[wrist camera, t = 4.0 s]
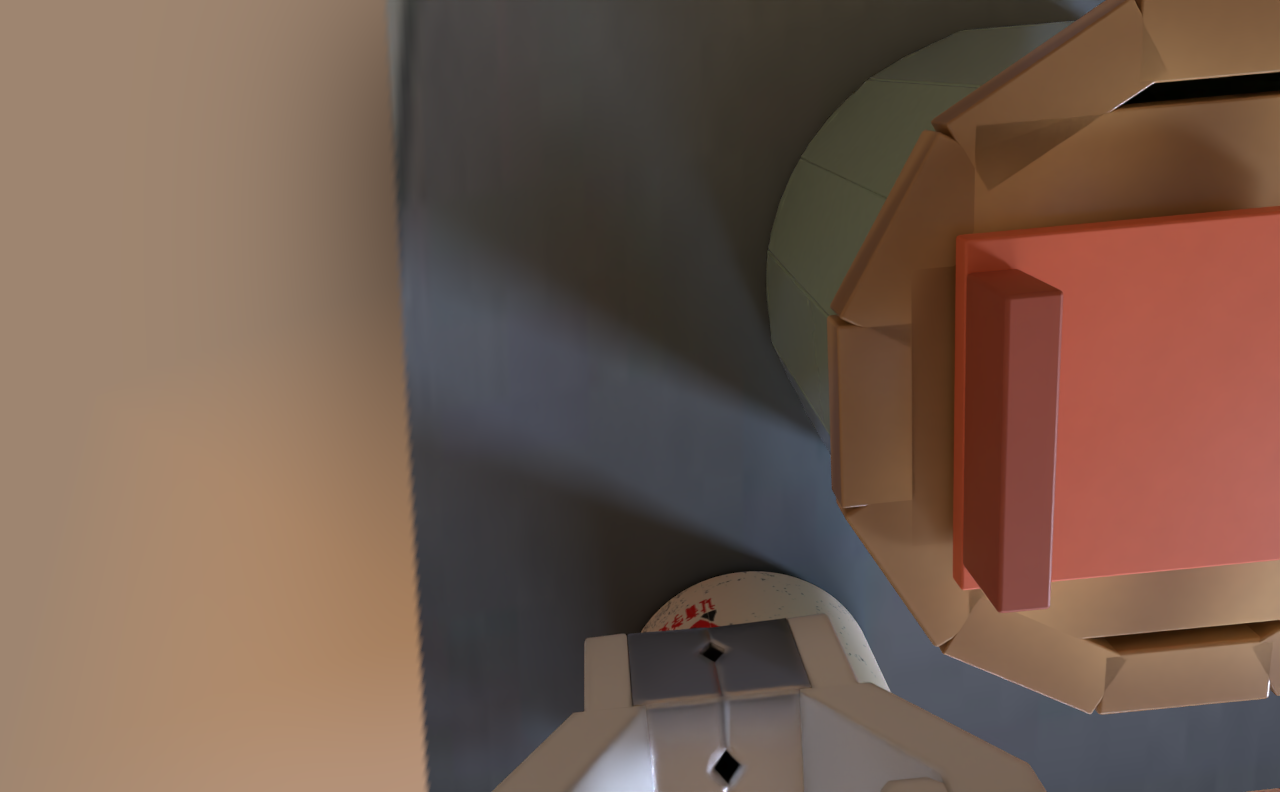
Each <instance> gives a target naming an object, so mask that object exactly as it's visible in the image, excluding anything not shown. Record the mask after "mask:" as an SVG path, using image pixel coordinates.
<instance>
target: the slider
mask: <svg viewBox="0 0 1280 792" xmlns="http://www.w3.org/2000/svg"><path fill="white" fill-rule="evenodd" d="M1274 560H1280V206H1272V207H1261V208H1250V209H1239V210H1228V211H1217V212H1206V213H1195V214H1184V215H1173V216H1162V217H1151V218H1140V219H1129V220H1118V221H1107V222H1096V223H1085V224H1074V225H1063V226H1052V227H1041V228H1030V229H1019V230H1008V231H997V232H986V233H975V234H964V235H959V236H957V237H956V286H955V386H954V486H953V578H954V580H955V581H956V583H957V584H958V586H959V587H960V589H961V590H972V589H981V590H982V591H983V592H984V594H985V595H986V597H987V598H988V599H989V601H990V602H991V603H992V605H993V606H994V607H995V609H996V610H997V612H999V613H1010V612H1020V611H1031V610H1041V609H1048V608H1049V607H1050V598H1051V582H1055V581H1066V580H1076V579H1086V578H1097V577H1107V576H1118V575H1128V574H1139V573H1149V572H1159V571H1170V570H1180V569H1191V568H1201V567H1212V566H1222V565H1233V564H1243V563H1253V562H1264V561H1274Z"/></svg>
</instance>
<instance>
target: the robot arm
mask: <svg viewBox="0 0 1280 792" xmlns="http://www.w3.org/2000/svg"><path fill="white" fill-rule="evenodd" d="M628 649H629V653H628ZM492 792H1047V791H1046V790H1045V788H1044V786H1043V785H1042V783H1041V782H1040V780H1039V779H1038V777H1037V775H1036V774H1035V772H1034V771H1033V769H1032V768H1031V766H1030V764H1028V763H1026V762H1024V761H1022V760H1021V759H1019V758H1017V757H1015V756H1013V755H1011V754H1009V753H1007V752H1005V751H1003V750H1001V749H999V748H997V747H995V746H993V745H991V744H990V743H988V742H986V741H984V740H982V739H980V738H978V737H976V736H974V735H972V734H970V733H968V732H966V731H964V730H962V729H960V728H959V727H957V726H955V725H953V724H951V723H949V722H947V721H945V720H943V719H941V718H939V717H937V716H935V715H933V714H931V713H930V712H928V711H926V710H924V709H922V708H920V707H918V706H916V705H914V704H912V703H910V702H908V701H906V700H904V699H902V698H900V697H899V696H897V695H895V694H893V693H891V692H889V691H887V690H885V689H883V688H881V687H879V686H877V685H875V684H873V683H871V682H866V683H859V681H858V679H857V677H856V674H855V672H854V670H853V668H852V666H851V663H850V661H849V659H848V657H847V655H846V652H845V650H844V648H843V646H842V644H841V641H840V639H839V637H838V635H837V633H836V630H835V628H834V626H833V624H832V622H831V619H830V617H829V616H828V615H827V614H825V613H820V614H813V615H806V616H799V617H792V618H782V619H774V620H766V621H758V622H751V623H743V624H735V625H727V626H719V627H711V628H706V627H705V628H693V629H681V630H668V631H656V632H644V633H632V634H628V644H627V636H626V635H625V634H615V635H607V636H599V637H591V638H586V640H585V643H584V712H576V713H573V714H572V715H571V716H570V717H569V718H567V719H566V720H565V721H564V722H563V723H562V724H561V725H560V726H559V727H558V728H557V729H556V730H555V731H554V732H553V733H552V734H551V735H550V736H549V737H548V738H547V739H546V740H545V741H544V742H543V743H542V744H541V745H540V746H538V747H537V748H536V749H535V750H534V751H533V752H532V753H531V754H530V755H529V756H528V757H527V758H526V759H525V760H524V761H523V762H522V763H521V764H520V765H519V766H518V767H517V768H516V769H515V770H514V771H513V772H512V773H511V774H510V775H508V776H507V777H506V778H505V779H504V780H503V781H502V782H501V783H500V784H499V785H498V786H497V787H496V788H495V789H494V790H493V791H492ZM1247 792H1280V788H1275V789H1266V790H1256V791H1247Z"/></svg>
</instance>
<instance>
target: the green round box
mask: <svg viewBox="0 0 1280 792" xmlns="http://www.w3.org/2000/svg"><path fill="white" fill-rule="evenodd" d="M1075 21H1076V20H1072V21H1060V22H1049V23H1037V24H1026V25H1015V26H1003V27H992V28H981V29H969V30H962V31H958V32H956V33H954V34H952V35H950V36H948V37H946V38H944V39H942V40H940V41H937V42H935V43H933V44H931V45H928V46H926V47H924V48H922V49H920V50H917V51H915V52H913V53H911V54H908V55H907V56H905V57H903V58H902V59H900V60H898V61H897V62H895V63H893V64H892V65H890V66H889V67H887V68H885V69H884V70H882V71H880V72H879V73H877V74H876V75H874V76H872V77H870V78H869V80H866V81H865V83H864V84H863V85H862V86H861V87H860V88H859V89H857V90H856V91H855V92H854V93H852V94H851V96H850V97H849V98H848V99H847V100H846V101H845V102H844V103H843V104H842V105H841V106H840V107H839V108H838V109H837V110H836V111H835V112H834V113H833V114H832V115H831V116H830V117H829V118H828V120H827V121H826V122H825V123H824V125H823V126H822V127H821V129H820V130H819V131H818V133H817V134H816V135H815V137H814V138H813V139H812V141H811V142H810V143H809V145H808V146H807V148H806V150H805V152H804V153H803V154H802V155H801V158H800V160H799V162H798V164H797V165H796V167H795V169H794V170H793V172H792V175H791V177H790V179H789V182H788V184H787V186H786V189H785V191H784V193H783V196H782V198H781V200H780V203H779V207H778V210H777V214H776V217H775V221H774V224H773V228H772V231H771V237H770V243H769V246H768V251H767V267H766V297H767V306H768V315H769V323H770V328H771V341H772V345H773V347H774V349H775V351H776V353H777V355H778V357H779V359H780V361H781V363H782V365H783V367H784V370H785V372H786V375H787V377H788V378H789V380H790V382H791V384H792V386H793V388H794V390H795V392H796V394H797V396H798V398H799V400H800V402H801V404H802V406H803V408H804V410H805V412H806V414H807V416H808V418H809V420H810V421H811V423H812V425H813V426H814V428H815V430H816V431H817V433H818V435H819V436H820V438H821V440H822V441H823V443H824V445H825V446H826V448H827V450H828V451H829V453H830V455H831V444H830V410H829V375H828V341H827V317H828V316H830V315H837V314H836V313H835V312H834V311H833V310H832V309H831V308H830V304H831V302H832V301H833V299H834V297H835V295H836V293H837V291H838V289H839V287H840V286H841V284H842V282H843V280H844V278H845V276H846V274H847V272H848V270H849V269H850V267H851V265H852V263H853V261H854V259H855V257H856V255H857V254H858V252H859V250H860V248H861V246H862V244H863V242H864V240H865V238H866V237H867V235H868V233H869V231H870V229H871V227H872V225H873V223H874V222H875V220H876V218H877V216H878V214H879V212H880V210H881V208H882V207H883V205H884V203H885V201H886V199H887V197H888V195H889V193H890V191H891V190H892V188H893V186H894V184H895V182H896V180H897V178H898V176H899V175H900V173H901V171H902V169H903V167H904V165H905V163H906V161H907V159H908V158H909V156H910V154H911V152H912V150H913V148H914V146H915V144H916V143H917V141H918V139H919V137H920V135H921V133H922V131H924V130H931V131H935V129H934V127H933V126H932V124H931V121H932V119H934V118H935V117H937V116H938V115H940V114H941V113H943V112H944V111H946V110H947V109H948V108H950V107H951V106H953V105H954V104H956V103H957V102H959V101H960V100H962V99H963V98H964V97H966V96H967V95H969V94H970V93H972V92H973V91H975V90H976V89H978V88H979V87H980V86H982V85H983V84H985V83H986V82H988V81H989V80H991V79H992V78H994V77H995V76H996V75H998V74H999V73H1001V72H1002V71H1004V70H1005V69H1007V68H1008V67H1010V66H1011V65H1012V64H1014V63H1015V62H1017V61H1018V60H1020V59H1021V58H1023V57H1024V56H1026V55H1027V54H1028V53H1030V52H1031V51H1033V50H1034V49H1036V48H1037V47H1039V46H1040V45H1042V44H1043V43H1044V42H1046V41H1047V40H1049V39H1050V38H1052V37H1053V36H1055V35H1056V34H1058V33H1059V32H1060V31H1062V30H1063V29H1065V28H1066V27H1068V26H1069V25H1071V24H1072V23H1074V22H1075ZM1278 90H1280V72H1274V73H1262V74H1251V75H1240V76H1229V77H1218V78H1206V79H1195V80H1184V81H1173V82H1162V83H1153V84H1152V85H1150V86H1149V87H1148V88H1146V89H1145V90H1143V91H1142V92H1140V93H1139V94H1137V95H1136V96H1134V97H1133V98H1131V99H1130V100H1128V101H1127V102H1125V103H1124V104H1132V103H1144V102H1155V101H1166V100H1177V99H1188V98H1199V97H1211V96H1222V95H1233V94H1244V93H1255V92H1266V91H1278Z"/></svg>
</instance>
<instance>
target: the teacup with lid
mask: <svg viewBox="0 0 1280 792" xmlns="http://www.w3.org/2000/svg"><path fill="white" fill-rule="evenodd" d="M820 613H825V614H827V615H828V616H829V617H830V619H831V622H832V624H833V626H834V628H835V630H836V633H837V635H838V637H839V639H840V641H841V644H842V646H843V648H844V650H845V652H846V655H847V657H848V659H849V661H850V663H851V666H852V668H853V670H854V672H855V674H856V677H857V679H858V681H859V683H866V682H871V683H873V684H875V685H877V686H879V687H881V688H883V689H885V690H887V691H889V692H890V690H889V688H888V685H887V683H886V681H885V679H884V677H883V675H882V673H881V670H880V668H879V666H878V664H877V662H876V660H875V658H874V655H873V653H872V651H871V649H870V647H869V645H868V643H867V640H866V638H865V636H864V634H863V632H862V630H861V628H860V627H859V625H858V624H857V622H856V621H855V619H854V618H853V617H852V615H851V614H850V613H849V612H848V610H847V609H846V608H845V607H844V606H843V605H842V604H841V603H840V602H839V601H837V600H836V599H835V598H834V597H832V596H831V595H830V594H828V593H827V592H825V591H824V590H822V589H821V588H819V587H817V586H815V585H813V584H811V583H809V582H806V581H804V580H801V579H799V578H795V577H792V576H788V575H784V574H779V573H773V572H763V571H748V572H737V573H731V574H725V575H721V576H717V577H713V578H711V579H708V580H705V581H702V582H700V583H698V584H696V585H693V586H691V587H689V588H688V589H686V590H684V591H682V592H681V593H679V594H678V595H676V596H675V597H673V598H672V599H671V600H669V601H668V602H667V603H666V604H665V605H664V606H662V607H661V608H660V609H659V610H658V611H657V612H656V613H655V614H654V615H653V616H652V618H651V619H650V620H649V621H648V623H647V624H646V625H645V627H644V628H643V630H642V631H641V633H644V632H656V631H668V630H681V629H693V628H705V627H706V628H711V627H719V626H727V625H735V624H743V623H751V622H758V621H766V620H774V619H782V618H792V617H799V616H806V615H813V614H820Z"/></svg>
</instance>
